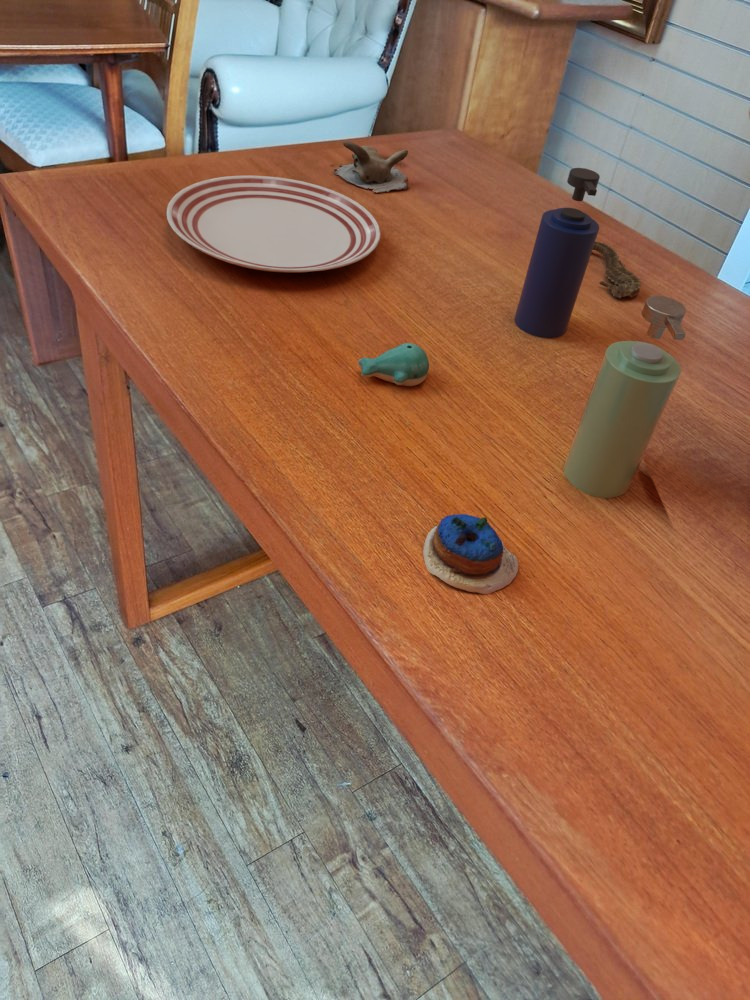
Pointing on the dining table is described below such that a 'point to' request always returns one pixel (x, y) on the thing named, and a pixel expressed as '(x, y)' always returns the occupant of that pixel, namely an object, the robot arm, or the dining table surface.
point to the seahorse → (617, 273)
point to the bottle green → (620, 417)
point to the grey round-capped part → (664, 317)
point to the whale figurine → (398, 365)
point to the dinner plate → (273, 223)
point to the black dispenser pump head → (583, 182)
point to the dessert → (469, 554)
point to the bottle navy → (555, 272)
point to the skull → (373, 169)
